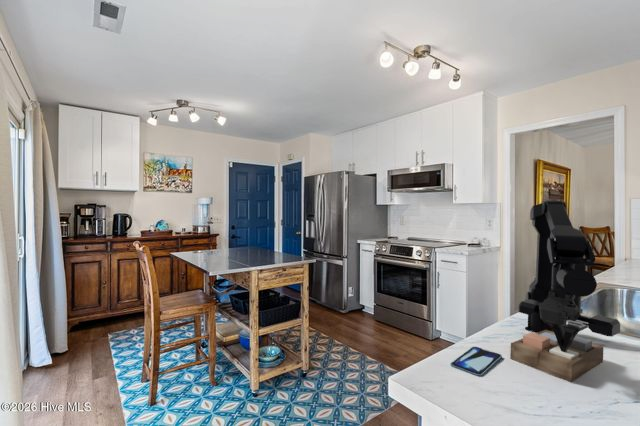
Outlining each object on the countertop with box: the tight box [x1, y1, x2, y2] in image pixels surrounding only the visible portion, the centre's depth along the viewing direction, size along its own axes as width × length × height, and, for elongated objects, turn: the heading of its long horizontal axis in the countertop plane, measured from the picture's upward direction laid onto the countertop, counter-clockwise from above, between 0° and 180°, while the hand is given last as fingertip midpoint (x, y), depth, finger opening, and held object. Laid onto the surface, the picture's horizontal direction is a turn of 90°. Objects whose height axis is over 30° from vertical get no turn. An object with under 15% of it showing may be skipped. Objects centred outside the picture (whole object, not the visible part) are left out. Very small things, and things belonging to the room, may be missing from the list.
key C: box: [539, 332, 558, 343], centre depth 87 cm, size 4×4×3 cm
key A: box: [549, 346, 579, 360], centre depth 77 cm, size 4×4×3 cm
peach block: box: [522, 331, 550, 350], centre depth 82 cm, size 4×4×3 cm
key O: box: [570, 335, 593, 352], centre depth 82 cm, size 4×4×3 cm
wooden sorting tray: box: [509, 330, 605, 383], centre depth 82 cm, size 13×19×4 cm
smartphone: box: [450, 346, 503, 377], centre depth 81 cm, size 7×1×15 cm
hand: (563, 351), depth 77 cm, fingers closed, pressing on key A
